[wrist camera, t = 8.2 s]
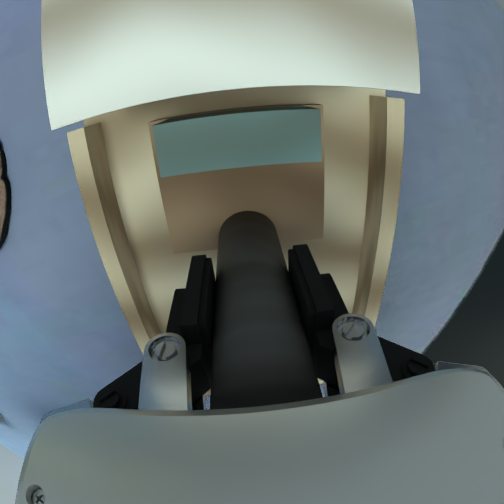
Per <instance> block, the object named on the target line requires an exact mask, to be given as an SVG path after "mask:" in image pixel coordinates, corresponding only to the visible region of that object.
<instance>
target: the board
mask: <svg viewBox="0 0 504 504" xmlns="http://www.w3.org/2000/svg"><path fill="white" fill-rule="evenodd" d="M41 38H42V60H43V72H44V83H45V91H46V99H47V106H48V113H49V119H50V125H51V131H52V130H55V129H58V128H61V127H64V126H67V125H70V124H73V123H76V122H79V121H82V120H84V125H85V127H83V128H80V129H77V130H74V131H71V132H68V133H67V136H68V141H69V146H70V151H71V156H72V160H73V164H74V169H75V173H76V177H77V181H78V185H79V188H80V192H81V196H82V199H83V203H84V206H85V210H86V213H87V216H88V220H89V223H90V226H91V229H92V232H93V235H94V238H95V241H96V244H97V247H98V250H99V253H100V256H101V258H102V261H103V264H104V267H105V269H106V272H107V274H108V277H109V280H110V282H111V285H112V287H113V290H114V292H115V294H116V297H117V299H118V302H119V304H120V306H121V309H122V311H123V313H124V315H125V318H126V320H127V322H128V324H129V326H130V329H131V331H132V333H133V335H134V337H135V339H136V341H137V343H138V345H139V347H140V349H141V351H142V353H143V354H144V348H145V345H146V344H147V343H148V341H149V340H150V339H152V338H153V337H154V336H156V335H159V334H162V333H166V328H167V323H168V319H169V314H170V310H171V305H172V301H173V296H174V292H175V290H176V289H181V288H186V283H187V278H188V273H189V268H190V263H191V258H192V256H195V255H205V254H206V257H207V258H210V257H211V258H212V263H213V269H214V274H215V280H216V267H217V253H218V249H215V250H206V251H196V252H187V253H178V254H174V251H173V247H172V243H171V238H170V234H169V230H168V225H167V221H166V216H165V212H164V207H163V202H162V197H161V193H160V188H159V183H158V177H157V172H156V167H155V161H154V156H153V150H152V144H151V138H150V132H149V125H148V122H150V121H153V120H158V119H163V118H168V117H174V116H180V115H186V114H192V113H199V112H206V111H214V110H223V109H232V108H242V107H254V106H268V105H289V104H320V105H323V118H324V229H323V239H314V240H304V241H294V242H284V243H280V245H281V248H282V252H283V255H284V258H285V262H286V265H287V269H288V250H289V249H293V245H302V244H307V245H308V248H309V250H310V252H311V254H312V257H313V259H314V261H315V263H316V266H317V268H318V270H319V272H320V274H325V273H330V274H331V276H332V278H333V280H334V282H335V284H336V286H337V289H338V291H339V293H340V295H341V297H342V299H343V301H344V304H345V306H346V308H347V310H348V312H349V313H354V314H360V315H363V316H365V317H367V318H368V319H369V320H370V321H371V322H372V323H373V325H374V327H375V324H376V320H377V316H378V312H379V308H380V304H381V300H382V295H383V291H384V286H385V282H386V277H387V272H388V267H389V262H390V256H391V251H392V245H393V239H394V232H395V226H396V219H397V211H398V203H399V194H400V185H401V174H402V161H403V144H404V99H400V98H392V97H385V90H392V91H400V92H408V93H416V94H420V73H419V55H418V42H417V32H416V23H415V16H414V9H413V2H412V0H42V10H41ZM318 381H319V384H320V383H324V381H322V380H321V379H319V378H318ZM206 395H211V389H210V390H209V391H207V392H206V393H205V396H206Z"/></svg>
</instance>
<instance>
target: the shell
mask: <svg viewBox="0 0 504 504" xmlns="http://www.w3.org/2000/svg"><path fill="white" fill-rule="evenodd" d="M10 209H11V188H10V183H9V180H8V179H7V165H6V157H5V153H4V151H3V150H2V149H1V145H0V248H1V246H2V244H3V242H4V239H5V237H6V234H7V226H8V224H7V223H8V218H9V213H10Z"/></svg>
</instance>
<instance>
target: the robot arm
mask: <svg viewBox="0 0 504 504" xmlns="http://www.w3.org/2000/svg"><path fill="white" fill-rule="evenodd" d="M288 272H289V275H290V279H291V282H292V286H293V289H294V293H295V296H296V300H297V304H298V307H299V311H300V314H301V318H302V322H303V325H304V329H305V332H306V336H307V340H308V344H309V347H310V351H311V355H312V358H313V362H314V366H315V370H316V374H317V378H319V379H321V380H322V381H324V383H323V385H324V393H325V397H323V398H317V399H311V400H305V401H298V402H291V403H283V404H275V405H266V406H257V407H245V408H232V409H214V410H206V400H205V393H206V392H207V391H209V390H210V389H211V364H212V340H213V319H214V300H215V283H216V280H215V274H214V269H213V263H212V258H211V257H210V258H207V257H206V254H205V255H195V256H192V258H191V263H190V268H189V273H188V278H187V283H186V288H181V289H176V290H175V292H174V296H173V301H172V305H171V310H170V314H169V319H168V323H167V328H166V333H162V334H159V335H156V336H154V337H153V338H152V339H150V340H149V341H148V343H147V344H146V345H145V348H144V354H143V361H142V362H140V363H139V364H138V365H136V366H135V367H133V368H132V369H130V370H129V371H128V372H126V373H125V374H123V375H122V376H120V377H119V378H117V379H116V380H114V381H113V382H112V383H110V384H109V385H107V386H106V387H104V388H103V389H102V390H100V391H99V392H98V393H97V395H96V396H95V398H94V400H92V401H90V399H89V398H88V399H86V400H83V401H80V402H77V403H74V404H72V405H69V406H66V407H63V408H60V409H57V410H54V411H51V412H49V413H47V414H45V415H44V416H43V418H42V419H41V421H40V425H39V426H38V428H37V429H36V431H35V433H34V435H33V437H32V439H31V442H30V444H29V447H28V450H27V452H26V455H25V459H24V463H23V466H22V470H21V474H20V478H19V483H18V489H17V495H16V502H15V504H504V389H503V388H502V386H501V385H500V384H499V383H498V381H497V380H496V379H495V378H494V377H493V376H491V375H490V374H489V372H488V371H487V370H486V369H484V368H483V367H479V366H472V365H464V364H455V363H447V362H439V361H438V362H437V364H433V363H432V361H431V360H430V359H428V358H427V357H426V356H424V355H422V354H419V353H417V352H415V351H412V350H410V349H407V348H405V347H402V346H400V345H397V344H395V343H393V342H390V341H388V340H385V339H383V338H381V337H378V336H377V333H376V330H375V327H374V325H373V323H372V322H371V321H370V320H369V319H368V318H367V317H365V316H363V315H360V314H354V313H349V312H348V310H347V308H346V306H345V304H344V301H343V299H342V297H341V295H340V293H339V291H338V289H337V286H336V284H335V282H334V280H333V278H332V276H331V274H330V273H325V274H320V272H319V270H318V268H317V266H316V263H315V261H314V259H313V257H312V254H311V252H310V250H309V248H308V245H307V244H302V245H293V249H289V250H288Z"/></svg>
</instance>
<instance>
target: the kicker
mask: <svg viewBox="0 0 504 504" xmlns="http://www.w3.org/2000/svg"><path fill="white" fill-rule="evenodd" d="M148 125H149V132H150V138H151V144H152V150H153V156H154V161H155V167H156V172H157V177H158V183H159V188H160V193H161V197H162V202H163V207H164V212H165V216H166V221H167V225H168V230H169V234H170V238H171V243H172V247H173V251H174V254H178V253H187V252H196V251H206V250H215V249H218V253H217V267H216V283H215V300H214V319H213V340H212V364H211V395H210V410H214V409H232V408H245V407H257V406H266V405H275V404H283V403H291V402H298V401H305V400H311V399H317V398H323V397H322V393H321V389H320V385H319V381H318V378H317V374H316V370H315V366H314V362H313V358H312V355H311V351H310V347H309V344H308V340H307V336H306V332H305V329H304V325H303V322H302V318H301V314H300V311H299V307H298V304H297V300H296V296H295V293H294V289H293V286H292V282H291V279H290V275H289V272H288V269H287V265H286V262H285V258H284V255H283V252H282V248H281V245H280V243H284V242H294V241H304V240H314V239H323V229H324V118H323V105H320V104H289V105H268V106H254V107H242V108H232V109H223V110H214V111H206V112H199V113H192V114H186V115H180V116H174V117H168V118H163V119H158V120H153V121H150V122H148Z"/></svg>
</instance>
